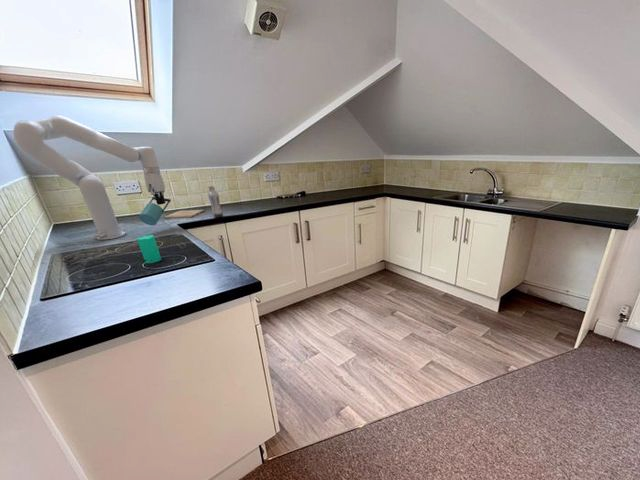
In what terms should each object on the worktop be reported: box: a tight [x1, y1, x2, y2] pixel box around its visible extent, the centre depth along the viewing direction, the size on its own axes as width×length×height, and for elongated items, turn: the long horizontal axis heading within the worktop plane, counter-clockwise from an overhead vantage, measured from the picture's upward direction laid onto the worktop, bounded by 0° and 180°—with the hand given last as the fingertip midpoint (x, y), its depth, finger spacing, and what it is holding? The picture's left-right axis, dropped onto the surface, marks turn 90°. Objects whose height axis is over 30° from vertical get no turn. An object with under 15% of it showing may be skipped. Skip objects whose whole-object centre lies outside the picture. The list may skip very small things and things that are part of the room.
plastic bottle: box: [207, 186, 224, 219], centre depth 197 cm, size 6×7×20 cm
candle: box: [136, 233, 162, 264], centre depth 125 cm, size 6×6×12 cm
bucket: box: [138, 196, 172, 226], centre depth 168 cm, size 18×10×8 cm
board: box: [163, 209, 205, 219], centre depth 211 cm, size 20×18×1 cm
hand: (161, 203), depth 174 cm, fingers closed on bucket, 1 cm apart
